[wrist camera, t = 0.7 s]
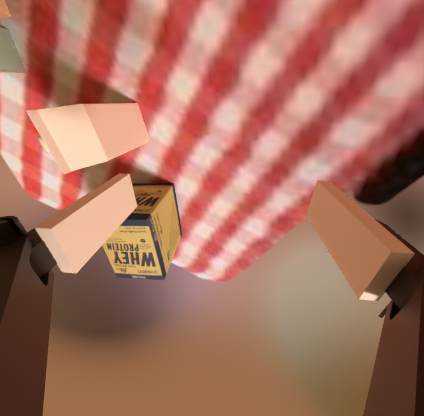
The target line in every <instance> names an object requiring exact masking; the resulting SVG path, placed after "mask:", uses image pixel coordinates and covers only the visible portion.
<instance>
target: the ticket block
mask: <svg viewBox="0 0 424 416" xmlns="http://www.w3.org/2000/svg"><path fill="white" fill-rule="evenodd" d="M0 17H11V14H10V12H9V9H8V6H7V4H6V1H5V0H0Z"/></svg>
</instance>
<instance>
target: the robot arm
mask: <svg viewBox="0 0 424 416" xmlns="http://www.w3.org/2000/svg"><path fill="white" fill-rule="evenodd" d="M136 207H137V203H136V199H135V195H134V190H133V186H132V182H131V178H130V174H123V173H119V174H118V175H116V176H115V177H113V178H111V179H110V180H108V181H107V182H105V183H104V184H102V185H100V186H99V187H97V188H96V189H94V190H93V191H91V192H90V193H88V194H86V195H85V196H83V197H82V198H80V199H79V200H77V201H75V202H74V203H72V204H71V205H69V206H68V207H66V208H64V209H63V210H61V211H60V212H58V213H57V214H55V215H54V216H52V217H50V218H49V219H47V220H46V221H44V222H43V223H41V224H39V225H38V226H36V227H35V228H34V229H32V230H31V231H29V232H26V230H25V229H24V227H23V226H22V224H21V223H20V221H19V220H18V218H17V217H15V216H6V217H0V416H42V414H43V402H44V390H45V378H46V366H47V354H48V342H49V330H50V317H51V305H52V293H53V280H54V273H53V271H52V269H51V268H52V267H53V266H55V265H56V264H58V266H59V268H60V269H61V271H62V272H67V273H77V272H78V271H79V270H80V269H81V268H82V267H83V266H84V264H85V263H86V262H87V261H88V260H89V259H90V258H91V257H92V256H93V254H94V253H95V252H96V251H97V250H98V249H99V248H100V247H101V246H102V245H103V244H104V242H105V241H106V240H107V239H108V238H109V237H110V236H111V235H112V234H113V233H114V231H115V230H116V229H117V228H118V227H119V226H120V225H121V224H122V223H123V222H124V220H125V219H126V218H127V217H128V216H129V215H130V214H131V213H132V212H133V211H134V209H135V208H136ZM307 217H308V219H309V220H310V222H311V223H312V225H313V227H314V228H315V230H316V231H317V233H318V235H319V236H320V238H321V239H322V241H323V243H324V244H325V246H326V247H327V249H328V251H329V252H330V254H331V255H332V257H333V259H334V260H335V262H336V263H337V265H338V267H339V268H340V270H341V271H342V273H343V275H344V276H345V277H346V279H347V281H348V282H349V284H350V286H351V287H352V289H353V290H354V292H355V294H356V295H357V297H358V298H359V299H363V300H374V301H378V300H379V299H380V298H381V297H382V295H383V294H384V293H385V292H386V293H387V294H388V295H389V297H390V298H391V299H392V301H391V302H390V303H389V304H388V305H387V306H386V308H385V309H384V310H383V311H382V312H381V314H380V315H379V317H381V318H382V317H383V316H384V315H385V319H384V324H383V328H382V333H381V337H380V342H379V346H378V351H377V356H376V360H375V365H374V369H373V374H372V378H371V383H370V388H369V392H368V397H367V401H366V406H365V410H364V415H363V416H424V255H423V254H422V253H420V252H419V251H418V250H417V249H416V248H414V247H413V246H412V245H410V244H409V243H408V242H407V241H406V240H403V238H402V237H401V236H400V235H398V234H396V232H395V231H394V230H392V229H391V228H390V227H389V226H387V225H386V224H384V223H382V222H380V221H378V220H376V219H374V218H372V217H371V216H370V215H369V214H368V213H367V212H365V211H364V210H363V209H362V208H360V207H359V206H358V205H357V204H356V203H355V202H354V201H352V200H351V199H350V198H349V197H348V196H347V195H345V194H344V193H343V192H342V191H341V190H339V189H338V188H337V187H336V186H335V185H334V184H332V183H331V182H330V181H317V183H316V187H315V190H314V193H313V196H312V199H311V202H310V206H309V209H308V212H307Z"/></svg>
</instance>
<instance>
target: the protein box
mask: <svg viewBox="0 0 424 416" xmlns="http://www.w3.org/2000/svg"><path fill="white" fill-rule="evenodd" d="M132 186H133V190H134V195H135V199H136V203H137V207H136V208H135V209H134V211H133V212H132V213H131V214H130V215H129V216H128V217H127V218H126V219H125V220H124V222H123V223H122V224H121V225H120V226H119V227H118V228H117V229H116V230H115V231H114V233H113V234H112V235H111V236H110V237H109V238H108V239H107V240H106V241H105V242H104V244H103V247H104V250H105V252H106V254H107V256H108V258H109V260H110V263H111V265H112V267H113V269H114V272H115V274H116V276H117V277H118V278H138V279H152V280H164V279H165V276H166V273H167V271H168V268H169V266H170V263H171V261H172V258H173V256H174V253H175V251H176V248H177V246H178V243H179V241H180V238H181V236H182V231H181V224H180V218H179V212H178V206H177V199H176V193H175V187H174V184H133V185H132Z"/></svg>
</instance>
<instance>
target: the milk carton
mask: <svg viewBox="0 0 424 416" xmlns="http://www.w3.org/2000/svg"><path fill="white" fill-rule="evenodd" d="M26 112H27V113H28V115H29V117H30V119H31V120H32V122H33V124H34V125H35V127H36V129H37V130H38V132H39V134H40V135H41V136H37V138H38V140H39V142H40V144H41V145H42V147H43V148H44V150H45V152H46V153H51V154H52V155H53V157H54V159H55V161H56V162H57V164H58V166H59V167H60V169H61V171H62V172H63V174H66V173H68V172H71V171H74V170H78V169H81V168H85V167H89V166H92V165H96V164H99V163H103V162H107V161H109V160H111V159H113V158H115V157H117V156H120V155H122V154H124V153H126V152H128V151H130V150H132V149H134V148H137V147H139V146H141V145H143V144H145V143H147V142H149V141H150V140H149V136H148V133H147V130H146V127H145V124H144V121H143V118H142V115H141V111H140V108H139V105H138V103H102V104H75V105H68V106H61V107H54V108H46V109H39V110H27V111H26Z"/></svg>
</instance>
